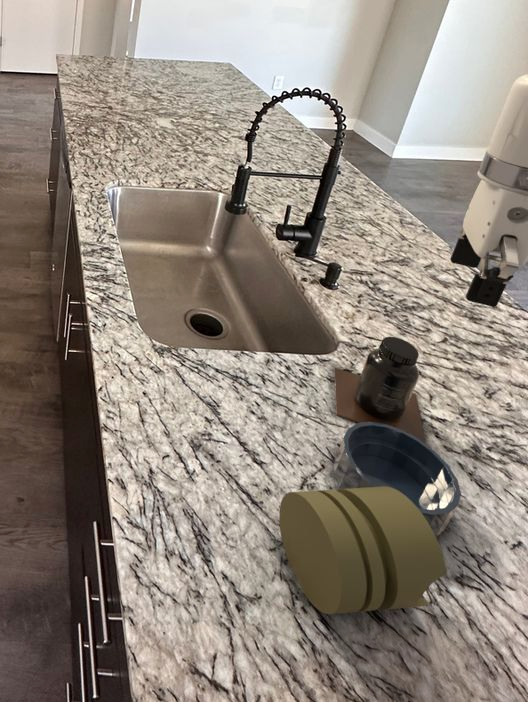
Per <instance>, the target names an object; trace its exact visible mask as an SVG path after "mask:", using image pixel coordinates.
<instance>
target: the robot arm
mask: <svg viewBox="0 0 528 702" xmlns="http://www.w3.org/2000/svg"><path fill="white" fill-rule="evenodd" d="M476 174H477V176H478V179H480V181H479V184H478V185H477V188H476V190H475V191H474V194H473V195H472V198H471V200H470V203H469V205H468V208H467V210H466V213H465V215H464V219H463V222H462V227H463V228H462V229H461V230H460V232H459V237H458V239H457V240H456V244H455V246H454V248H453V251H452V253H451V257H450V258H449V259H450V262H451V263H452V264H456V265H460V266H465V267H468V268H473V269H475V268H478V267H479V271H478V273H474V276H473V278H472V280H471V282H470V285H469V287H468V289H467V291H466V294H465V298H466V300H467V301H468V302H470V303H471V302H472V303H476V304H480V305H482V306H488V307H492V308H495V307H498V304H499V302H500V300H501V297H502V295H503V293H504V291H505V289H506V287H507V285H509V283H510V281H511V280H512V279H513V278H514V274H515V273H516V272H517V271H518V270H519V268H520V267H523V266H525V265H526V263H527V261H528V73H526V74H524V75H521V76H520V77H518V78H516V80H515V81H514V82H513V84H512V86H511V88H510V90H509V93H508V96H507V98H506V101H505V103H504V105H503V108H502V110H501V112H500V115H499V118H498V121H497V123H496V126H495V128H494V130H493V134H492V136H491V138H490V141H489V144H488V145H487V148H486V151H485V153H484V155H483V158H482V160H481V163H480V166H479V169H478V171H477V173H476ZM490 253H494V254H498V255H500V256H497V255H493V254H490ZM490 262H492V263H496V264H498V266H493V267H491V268H490Z"/></svg>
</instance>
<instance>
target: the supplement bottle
mask: <svg viewBox="0 0 528 702" xmlns="http://www.w3.org/2000/svg"><path fill="white" fill-rule="evenodd" d="M419 354H420V353H419V350H418V348H416V347H415V346H414V345H413V344H411V343H410V342H409V341H407V340H405V339H403V338H400V337H396V336H387V337H386V336H385V337H384V338H383V339H382V340H381V342H380V344H379V346H378V348H374V349H373V350H371V351H370V352H368V355H367V357H366V359H365V363H364V365H363V368H362V370H361V374H360V375H359V376H360V379H359V381H358V384H357V387H356V390H355V397H356V400H357V401H358V403H359V404H360V405H361V406H362V408H364V409H365V410H366V411H367V412H369V413H370V414H372V415H374V416H376V417H378V418H381V419H385V420H396V419H399V418H400V417H401V416H402V415H403V413H404V411H405V409H406V407H407V404H408V402H409V400H410V397H411V395H412V393H413V394H414V390H415V388H416V386H417V383H418V381H419V378H420V371H419V369H418V368H419V367H417V365H416V364H417V362H418V358H419V356H420V355H419Z"/></svg>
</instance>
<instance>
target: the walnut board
mask: <svg viewBox="0 0 528 702" xmlns="http://www.w3.org/2000/svg"><path fill="white" fill-rule="evenodd" d="M360 376H361V375H359V374H355V373H352V372H349V371H347V370H344V369H341V368H338V367H333V379H334V395H335V396H334V399H335V416H337V417H340V418H342V419H345V420H348V421H351V422H354V423H355V424H357V423H363V422H376V423H382V424H387V425H390V426H392V427H395V428H398V429H401V430H403V431H405V432H407V433H409V434H411V435H412V436H414V437H416V438H418V439H420V440H421V441H422V442H424V443H425V444H426V445H427V441H426V437H425V431H424V427H423V423H422V418H421V414H420V408H419V405H418V399H417V395H416V393H414V392H413V393H412V395H411V397H410V400H409V402H408V404H407V407H406V409H405V411H404V413H403V415H402V416H401V417H400V418H399V419H396V420H385V419H381V418H378V417H376V416H374V415H372V414H370V413H369V412H367V411H366V410H365V409H364V408H362V406H361V405H360V404H359V403H358V401H357V400H356V397H355V390H356V387H357V384H358V381H359V379H360Z"/></svg>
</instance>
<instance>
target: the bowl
mask: <svg viewBox="0 0 528 702" xmlns="http://www.w3.org/2000/svg"><path fill="white" fill-rule="evenodd" d="M333 471H334V476H335V479H336V481H337V483H338V486H339V489H351V488H368V487H384V486H385V487H391V488H394V489H396V490H398V491H399V492H401V493H402V494H404V495H405V496H406V497H407V498H409V499H410V500H411V501H412V502H413V503H414V505H415V506H416V507H417V508H418V509H419V510H420V512H421V513H422V514H423V516H424V517H425V519H426V520H427V522H428V523H429V525H430V527H431V529H432V531H433V532H434V534H435V537H436V538H437V537H439V535H440V534H442V533H443V532H444V531H445V530H446V528H447V526H448V525H449V523H450V521H451V519H452V518H453V516H454V514H455V512H456V511H457V509H458V507H459V505H460V500H461V497H462V491H461V488H460V483H459V480H458V478H457V476H456V474H455V473H454V472H453V470H452V469H451V467H450V465H449V464H448V463H447V462H446V461H445V460H444V459H443V458H442V457H441V455H440V454H439V453H438V452H437V451H435V450H434V449H433V448H432V447H430V446H429V445H428V444H427V443H426V444H425V443H424V442H422V441H421V440H420V439H418V438H416V437H414V436H412V435H411V434H409V433H407V432H405V431H403V430H401V429H398V428H395V427H392V426H390V425H387V424H382V423H376V422H363V423H355V424H353V425H352V426H350V427H348V428H347V430H346V432H345V434H344V436H343V437H342V440H341V443H340V445H339V448H338V450H337V453H336V455H335V458H334V460H333Z"/></svg>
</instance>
